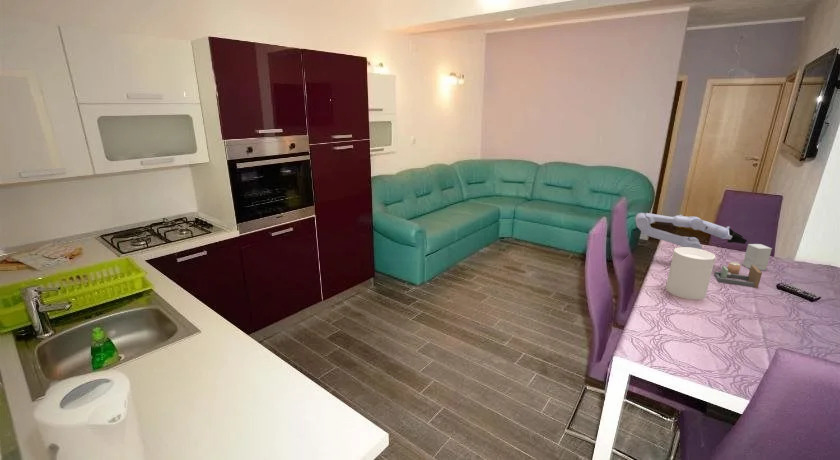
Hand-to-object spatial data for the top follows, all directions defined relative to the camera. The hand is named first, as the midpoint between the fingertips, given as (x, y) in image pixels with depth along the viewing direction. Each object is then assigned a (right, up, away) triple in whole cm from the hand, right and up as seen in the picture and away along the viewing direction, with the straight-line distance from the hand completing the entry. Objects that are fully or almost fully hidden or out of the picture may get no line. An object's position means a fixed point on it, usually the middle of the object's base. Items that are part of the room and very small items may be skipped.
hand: (743, 240), depth 198 cm
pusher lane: (-8, -21, -3) cm, 22 cm away
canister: (-40, -25, -14) cm, 49 cm away
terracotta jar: (-2, -18, +4) cm, 19 cm away
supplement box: (+16, -16, +12) cm, 25 cm away
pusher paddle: (-11, -20, -2) cm, 23 cm away
